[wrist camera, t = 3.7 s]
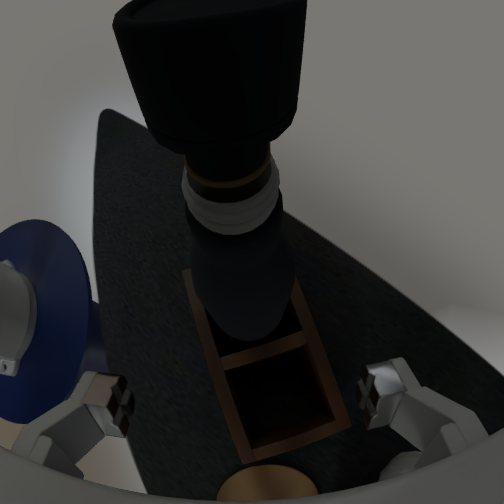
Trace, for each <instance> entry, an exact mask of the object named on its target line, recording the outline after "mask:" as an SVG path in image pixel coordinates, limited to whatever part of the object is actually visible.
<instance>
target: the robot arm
mask: <svg viewBox="0 0 504 504" xmlns="http://www.w3.org/2000/svg"><path fill="white" fill-rule="evenodd" d="M36 319H37V302H36V296H35V292H34V289H33V286H32V284H31V282H30V281H29V279H28V278H27V277H26V276H25V275H23V274H22V273H20V272H18V271H17V270H16V269H15V267H14V265H13V263H12V262H11V261H9V260H4V261H3V262H0V374H2V375H7V376H16V374H17V372H18V369H19V365H20V361H21V358H22V356H23V354H24V353H25V351H26V350H27V348H28V347H29V345H30V342H31V340H32V337H33V334H34V331H35V326H36ZM360 376H361V379H360V380H359V381H358V382H357V386H356V398H357V402H358V405H359V407H361V408H362V409H364V412H363V415H362V416H363V419H364V421H365V424H366V427H367V430H369V429H374V428H379V427H383V426H388V425H390V427H391V428H392V429H394V430H395V431H396V432H397V433H399V434H400V435H401V436H403V437H404V438H405V439H406V440H408V441H409V442H410V443H411V444H413V445H414V446H415V447H417V448H418V449H419V450H420V451H422V452H423V454H422V455H421V457H420V458H419V459H418V461H417V462H416V464H415V465H414V466H415V469H416V470H414V471H411V472H408V473H405V474H402V475H399V476H396V477H393V478H389V479H386V480H383V481H379V482H375V483H372V484H368V485H364V486H360V487H355V488H351V489H346V490H341V491H336V492H331V493H325V494H319V495H313V496H305V497H297V498H288V499H277V500H262V501H207V500H192V499H180V498H171V497H163V496H156V495H150V494H144V493H138V492H133V491H128V490H123V489H118V488H114V487H109V486H105V485H102V484H98V483H94V482H90V481H87V480H84V479H83V477H84V475H83V473H82V471H81V470H79V468H78V467H77V466H76V465H75V464H76V463H77V462H78V461H79V460H80V459H81V458H82V457H83V456H84V455H86V454H87V453H88V452H89V451H90V450H91V449H92V448H93V447H94V446H95V445H96V444H97V443H98V442H99V441H100V440H102V439H103V438H104V437H105V435H108V436H114V437H121V438H125V437H126V434H127V431H128V428H129V425H130V424H129V422H128V420H127V419H128V418H129V417H131V416H132V415H133V412H134V408H135V400H134V396H133V393H132V391H131V390H130V389H128V388H127V387H126V386H127V383H128V382H127V380H126V378H125V376H123V375H116V374H108V373H101V372H92V371H86V372H85V373H84V374H83V376H82V378H81V380H80V381H79V383H78V385H77V387H76V389H75V390H74V392H73V394H72V396H71V398H70V400H69V401H68V400H65V401H64V402H62V403H61V404H59V405H57V406H56V407H54V408H53V409H51V410H50V411H48V412H46V413H45V414H43V415H42V416H40V417H38V418H37V419H35V420H34V421H32V422H30V423H29V424H27V425H26V426H24V427H23V428H22V430H21V432H20V433H19V435H18V437H17V439H16V441H15V443H14V445H13V447H12V449H11V451H10V450H7V449H5V448H4V447H1V446H0V504H504V428H503V429H501V430H499V431H498V432H496V433H494V434H492V435H491V436H489V435H488V434H487V432H486V430H485V429H484V427H483V425H482V424H481V422H480V420H479V419H478V417H477V416H476V414H475V412H473V411H471V410H469V409H467V408H466V407H464V406H462V405H460V404H458V403H456V402H454V401H452V400H450V399H448V398H446V397H444V396H442V395H440V394H438V393H436V392H435V391H433V390H431V389H429V388H427V387H421V386H420V384H419V382H418V381H417V379H416V377H415V376H414V374H413V372H412V371H411V369H410V368H409V366H408V364H407V363H406V361H405V360H404V358H402V357H400V358H395V359H391V360H386V361H381V362H376V363H370V364H365V365H362V367H361V369H360Z"/></svg>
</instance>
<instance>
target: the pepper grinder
mask: <svg viewBox="0 0 504 504" xmlns="http://www.w3.org/2000/svg"><path fill="white" fill-rule="evenodd" d="M306 9H307V0H132V1H131V2H129V3H127V4H126V5H125V6H124V7H122V8H121V9H120V10H119V11H118V12H117V13H116V14H115V17H114V20H113V24H112V27H113V30H114V33H115V36H116V39H117V42H118V45H119V49H120V52H121V55H122V58H123V61H124V64H125V66H126V69H127V72H128V75H129V78H130V81H131V84H132V87H133V89H134V92H135V95H136V98H137V100H138V103H139V106H140V109H141V111H142V113H143V116H144V118H145V122H146V124H147V127H148V130H149V132H150V133H151V134H152V136H153V137H154V138H155V140H156V141H157V142H158V144H160V145H162V146H164V147H166V148H168V149H169V150H171V151H173V152H175V153H178V154H183V159H184V163H185V166H184V172H183V179H182V190H183V194H184V198H185V199H186V204H185V212H186V217H187V221H188V224H189V226H190V229H191V231H192V233H193V236H194V238H195V239H194V242H193V246H192V252H191V277H192V282H193V286H194V289H195V293H196V295H197V297H198V298H199V300H200V301H201V303H202V304H203V306H204V307H205V309H206V310H207V311H208V313H209V314H210V315H211V316H212V318H213V319H214V320H215V322H216V323H217V324H218V325H219V327H220V328H221V329H222V331H223V332H224V333H225V334H226V336H227V337H228V338H229V339H231V340H232V341H233V342H235V343H236V344H239V345H242V346H257V345H260V344H263V343H265V342H266V341H268V340H269V339H270V338H272V336H273V335H274V334H275V332H276V331H277V329H278V326H279V324H280V321H281V319H282V316H283V314H284V311H285V308H286V306H287V303H288V301H289V298H290V295H291V292H292V289H293V285H294V282H295V264H294V256H293V252H292V249H291V246H290V243H289V241H288V239H287V236H286V234H285V232H284V231H283V229H282V227H281V219H282V212H283V202H282V194H281V192H280V189H279V184H280V180H279V170H278V168H277V166H276V164H275V161H274V159H273V157H272V155H271V153H270V142H271V141H273V140H275V139H277V138H278V137H279V136H280V135H281V134H282V133H283V132H284V131H285V130H286V129H287V128H288V127H289V126H290V125H291V123H292V121H293V118H294V115H295V113H296V110H297V102H298V92H299V83H300V74H301V64H302V54H303V43H304V32H305V21H306Z"/></svg>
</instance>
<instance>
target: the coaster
mask: <svg viewBox="0 0 504 504" xmlns="http://www.w3.org/2000/svg"><path fill="white" fill-rule="evenodd" d="M313 495H318V491H317V489H316V487H315V485H314V483H313V482H312V481H311V480H310V479H309V477H307V476H306V475H305V474H304V473H302V472H300V471H299V470H296V469H294V468H292V467H288V466H285V465H279V464H261V465H255V466H251V467H248V468H245V469H243V470H240V471H238V472H237V473H235V474H233V475H232V476H231V477H229V478H228V479H227V480H226V481H225V482H224V484H223V485H222V486H221V488H220V490H219V493H218V496H217V500H216V501H262V500H277V499H288V498H297V497H305V496H313Z"/></svg>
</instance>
